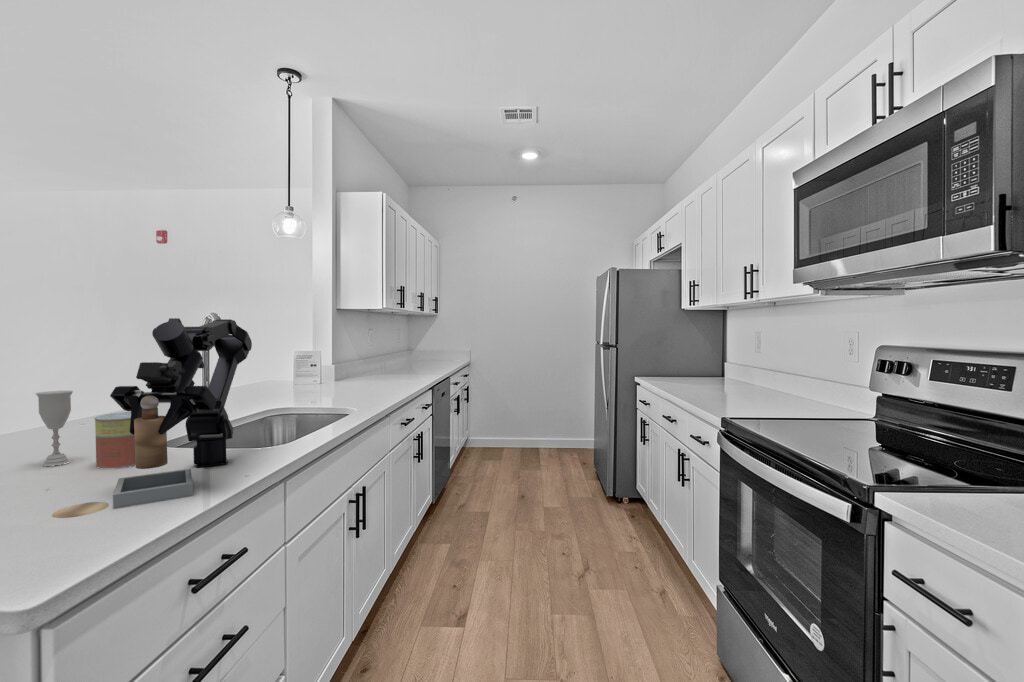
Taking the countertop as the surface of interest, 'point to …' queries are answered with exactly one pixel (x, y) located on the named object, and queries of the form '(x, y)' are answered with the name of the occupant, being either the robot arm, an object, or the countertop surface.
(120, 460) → the canned food
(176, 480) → the tray
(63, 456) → the chalice
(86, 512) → the coaster
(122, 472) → the countertop surface
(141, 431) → the pepper mill
